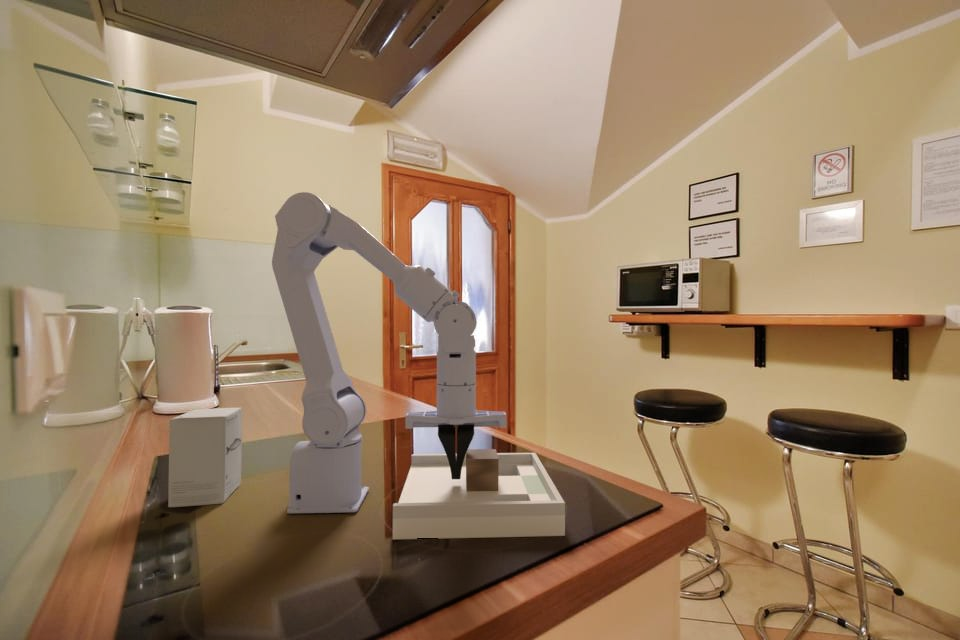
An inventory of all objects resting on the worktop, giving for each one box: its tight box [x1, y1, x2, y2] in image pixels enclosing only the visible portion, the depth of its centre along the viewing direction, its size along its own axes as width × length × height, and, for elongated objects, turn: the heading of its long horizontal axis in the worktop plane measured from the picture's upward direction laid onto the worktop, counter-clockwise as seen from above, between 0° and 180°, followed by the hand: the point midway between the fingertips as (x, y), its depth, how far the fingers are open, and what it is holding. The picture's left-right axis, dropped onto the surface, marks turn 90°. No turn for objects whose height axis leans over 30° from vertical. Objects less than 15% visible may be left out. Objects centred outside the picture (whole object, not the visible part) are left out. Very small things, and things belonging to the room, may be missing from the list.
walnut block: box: [466, 448, 498, 491], centre depth 60 cm, size 4×4×4 cm
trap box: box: [392, 452, 566, 540], centre depth 60 cm, size 21×20×4 cm
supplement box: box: [167, 407, 243, 508], centre depth 62 cm, size 7×7×13 cm
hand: (456, 476), depth 60 cm, fingers closed
